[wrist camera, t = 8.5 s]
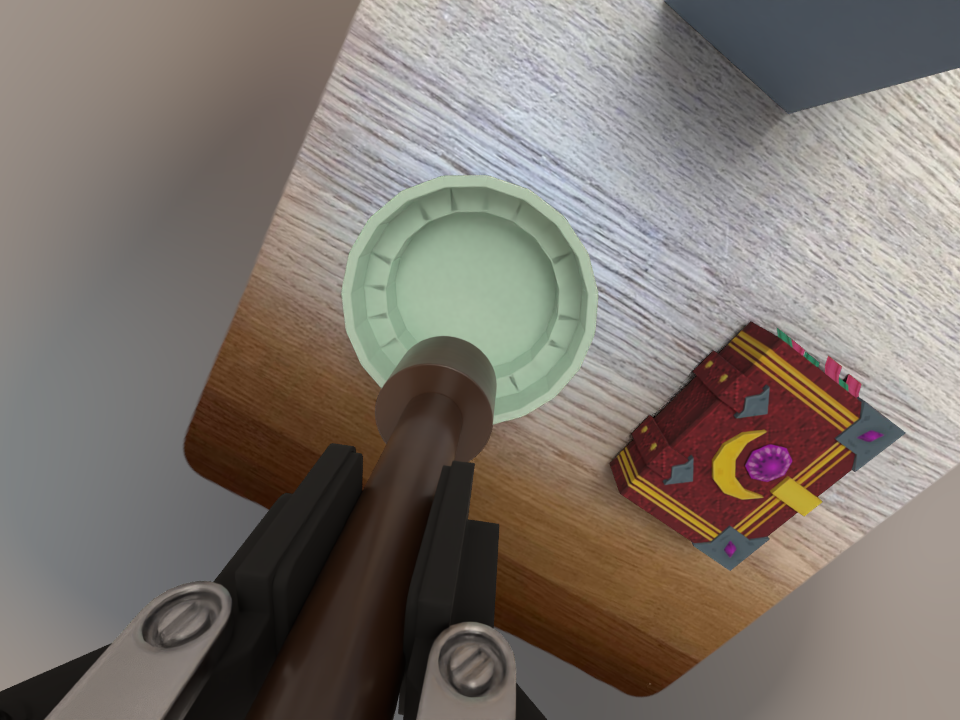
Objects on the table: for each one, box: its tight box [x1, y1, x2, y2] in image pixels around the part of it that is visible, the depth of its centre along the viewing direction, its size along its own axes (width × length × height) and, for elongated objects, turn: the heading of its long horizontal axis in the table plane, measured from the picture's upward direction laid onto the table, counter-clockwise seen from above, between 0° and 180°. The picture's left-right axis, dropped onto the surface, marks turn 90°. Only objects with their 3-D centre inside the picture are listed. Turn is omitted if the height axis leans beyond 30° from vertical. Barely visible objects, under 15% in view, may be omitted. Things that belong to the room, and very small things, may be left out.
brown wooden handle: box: [244, 336, 497, 720], centre depth 12 cm, size 4×4×13 cm
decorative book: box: [610, 322, 905, 571], centre depth 32 cm, size 11×16×5 cm
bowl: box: [341, 175, 598, 424], centre depth 30 cm, size 15×15×6 cm
